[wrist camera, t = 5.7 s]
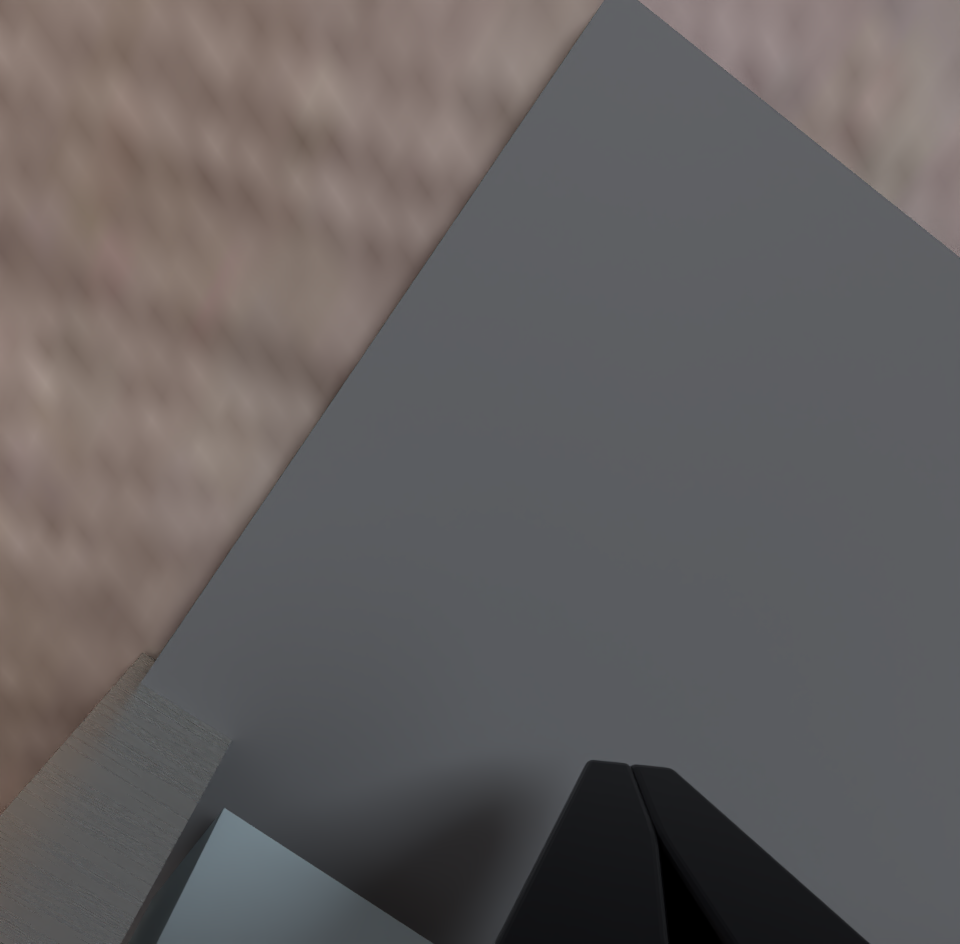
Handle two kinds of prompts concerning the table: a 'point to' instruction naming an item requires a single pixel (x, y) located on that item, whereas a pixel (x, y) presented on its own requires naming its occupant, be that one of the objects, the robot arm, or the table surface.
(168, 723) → the latch post
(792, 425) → the mat
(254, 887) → the gate
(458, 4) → the table surface
